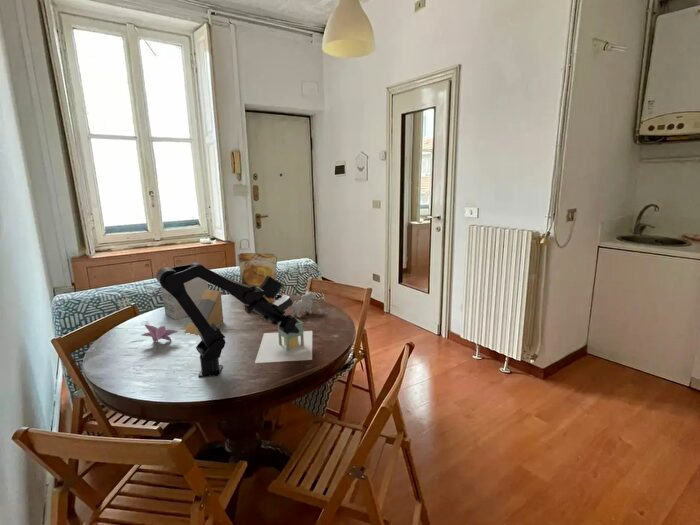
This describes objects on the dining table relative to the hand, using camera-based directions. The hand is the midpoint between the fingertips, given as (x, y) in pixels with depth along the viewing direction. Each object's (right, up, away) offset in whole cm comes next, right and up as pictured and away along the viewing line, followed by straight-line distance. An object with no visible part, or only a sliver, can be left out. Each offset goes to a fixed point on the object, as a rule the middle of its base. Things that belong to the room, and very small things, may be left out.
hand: (293, 329), depth 140 cm
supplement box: (-58, +1, +39) cm, 70 cm away
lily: (-53, -7, +3) cm, 53 cm away
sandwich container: (-42, -3, +20) cm, 47 cm away
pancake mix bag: (-23, +2, +41) cm, 47 cm away
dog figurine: (0, +1, +34) cm, 34 cm away
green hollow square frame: (-1, -6, +1) cm, 6 cm away
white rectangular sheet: (-3, -7, +1) cm, 7 cm away
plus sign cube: (-1, -6, +1) cm, 6 cm away
